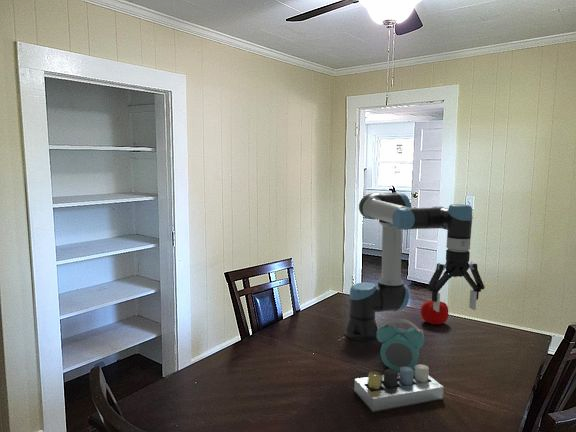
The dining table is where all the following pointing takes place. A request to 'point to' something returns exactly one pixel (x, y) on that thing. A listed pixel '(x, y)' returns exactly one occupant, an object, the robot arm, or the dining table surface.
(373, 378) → the gold rounded cylinder
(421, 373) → the white egg
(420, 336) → the alarm clock
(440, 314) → the tomato
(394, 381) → the black rounded cylinder
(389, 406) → the white socket board
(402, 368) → the blue ovoid
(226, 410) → the dining table surface
